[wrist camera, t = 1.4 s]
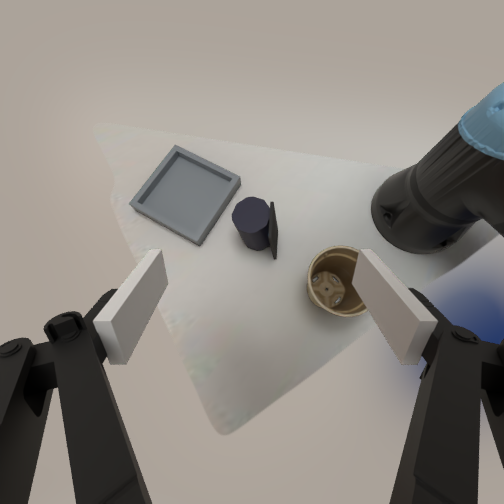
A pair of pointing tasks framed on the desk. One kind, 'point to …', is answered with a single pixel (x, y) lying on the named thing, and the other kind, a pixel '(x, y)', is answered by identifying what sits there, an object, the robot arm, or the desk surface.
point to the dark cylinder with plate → (256, 223)
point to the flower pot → (342, 268)
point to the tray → (186, 194)
